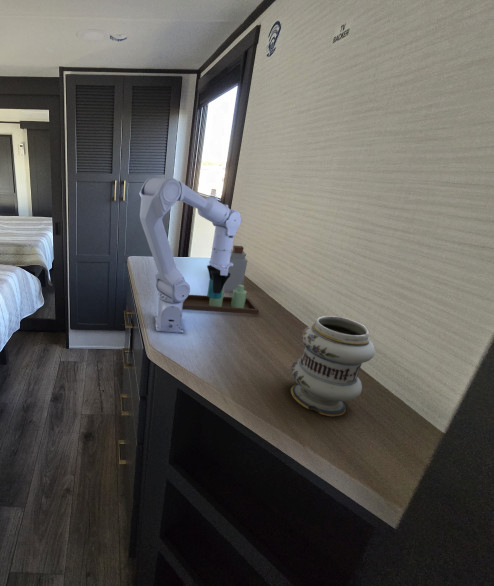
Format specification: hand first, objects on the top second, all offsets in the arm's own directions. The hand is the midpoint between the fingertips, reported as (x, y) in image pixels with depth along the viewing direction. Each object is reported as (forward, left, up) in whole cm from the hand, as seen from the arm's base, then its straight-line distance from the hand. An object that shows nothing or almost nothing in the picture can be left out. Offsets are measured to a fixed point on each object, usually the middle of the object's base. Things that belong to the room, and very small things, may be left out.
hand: (215, 290), depth 101 cm
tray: (+8, -3, -9) cm, 12 cm away
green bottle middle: (+8, -3, -9) cm, 12 cm away
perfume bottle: (+28, -13, -10) cm, 32 cm away
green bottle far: (+8, -10, -9) cm, 15 cm away
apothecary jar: (-39, -14, -10) cm, 43 cm away
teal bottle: (0, 0, -2) cm, 2 cm away
